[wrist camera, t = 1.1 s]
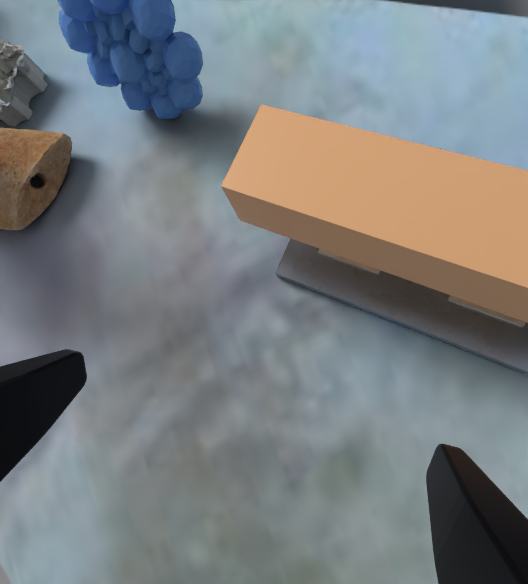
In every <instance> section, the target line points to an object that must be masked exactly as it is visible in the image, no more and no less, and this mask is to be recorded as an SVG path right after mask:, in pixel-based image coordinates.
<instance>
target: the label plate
mask: <svg viewBox="0 0 528 584" xmlns="http://www.w3.org/2000/svg"><path fill="white" fill-rule="evenodd" d="M275 273H276V275H277V277H280V278H282V279H285V280H287V281H290V282H292V283H295V284H297V285H300V286H303V287H305V288H308V289H310V290H313V291H315V292H318V293H320V294H323V295H325V296H328V297H331V298H333V299H336V300H338V301H341V302H343V303H346V304H348V305H351V306H353V307H356V308H359V309H361V310H364V311H366V312H369V313H371V314H374V315H376V316H379V317H381V318H384V319H387V320H389V321H392V322H394V323H397V324H399V325H402V326H404V327H407V328H409V329H412V330H415V331H417V332H420V333H422V334H425V335H427V336H430V337H432V338H435V339H437V340H440V341H443V342H445V343H448V344H450V345H453V346H455V347H458V348H460V349H463V350H465V351H468V352H471V353H473V354H476V355H478V356H481V357H483V358H486V359H488V360H491V361H493V362H496V363H499V364H501V365H504V366H506V367H509V368H511V369H514V370H516V371H519V372H521V373H528V323H527V322H524V321H522V320H519V319H516V318H513V317H510V316H507V315H505V314H502V313H499V312H496V311H493V310H491V309H488V308H485V307H482V306H479V305H477V304H474V303H471V302H468V301H465V300H463V299H460V298H457V297H454V296H451V295H448V294H446V293H443V292H440V291H437V290H434V289H432V288H429V287H426V286H423V285H420V284H418V283H415V282H412V281H409V280H406V279H404V278H401V277H398V276H395V275H392V274H390V273H387V272H384V271H381V270H378V269H375V268H373V267H370V266H367V265H364V264H361V263H359V262H356V261H353V260H350V259H347V258H345V257H342V256H339V255H336V254H333V253H331V252H328V251H325V250H322V249H319V248H317V247H314V246H311V245H308V244H305V243H302V242H300V241H297V240H294V239H290V241H289V243H288V246H287V248H286V250H285V252H284V255H283V257H282V259H281V261H280V264H279V266H278V268H277V270H276V272H275Z"/></svg>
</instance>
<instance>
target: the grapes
mask: <svg viewBox="0 0 528 584" xmlns="http://www.w3.org/2000/svg"><path fill="white" fill-rule="evenodd" d="M58 2H59V4H60V6H61V8H62V9H61V10H60V11H59V24H60V27H61V30H62V33H63V36H64V38H65V39H66V41H67V43H68V45H69V47H70V48H71V49H73V50H75V51H78V52H83V53H88V59H87V63H88V66H89V70H90V72H91V74H92V76H93V78H94V80H95V82H96V83H97V84H98V85H101V86H107V87H113V86H117V85H118V84H119V83H120V84H122V85H121V91H122V95H123V98H124V100H125V102H126V104H127V106H128V107H129V109H132V110H139V111H141V110H147V109H148V108H149V107H151V106H152V107H153V109H154V111H155V113H156V115H157V116H158V118H161V119H173V118H176V117H177V116H179V115H180V114H181V111H182V109H183V110H189V109H194V108H195V107H196V106H198V105H199V104H200V102H201V99H202V96H203V95H202V86H201V84H200V81H199V79H198V77H197V76H198V75H199V74H200V71H201V68H202V65H203V60H202V52H201V49H200V47H199V45H198V43H197V41H196V40H195V39H194V38H193V37H192V36H191V35H190V34H187V33H184V32H175V33H173V29H174V25H175V21H176V19H175V12H174V5H173V3H172V1H171V0H58Z"/></svg>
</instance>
